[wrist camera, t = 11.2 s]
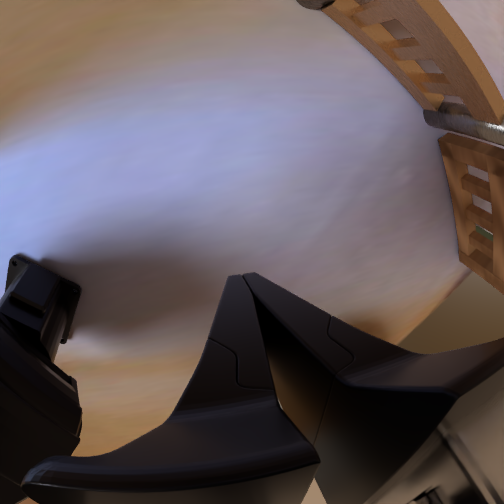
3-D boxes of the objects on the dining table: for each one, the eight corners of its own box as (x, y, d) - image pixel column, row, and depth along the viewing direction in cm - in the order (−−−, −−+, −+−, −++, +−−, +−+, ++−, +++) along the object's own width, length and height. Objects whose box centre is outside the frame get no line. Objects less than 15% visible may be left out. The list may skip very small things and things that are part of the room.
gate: (437, 140, 22) (514, 166, 14) (448, 132, 22) (524, 155, 14) (459, 260, 29) (510, 300, 22) (468, 252, 29) (519, 289, 22)
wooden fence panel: (433, 131, 22) (516, 156, 14) (287, -5, 15) (357, -55, 7) (444, 112, 21) (525, 132, 13) (304, -24, 14) (377, -74, 6)
